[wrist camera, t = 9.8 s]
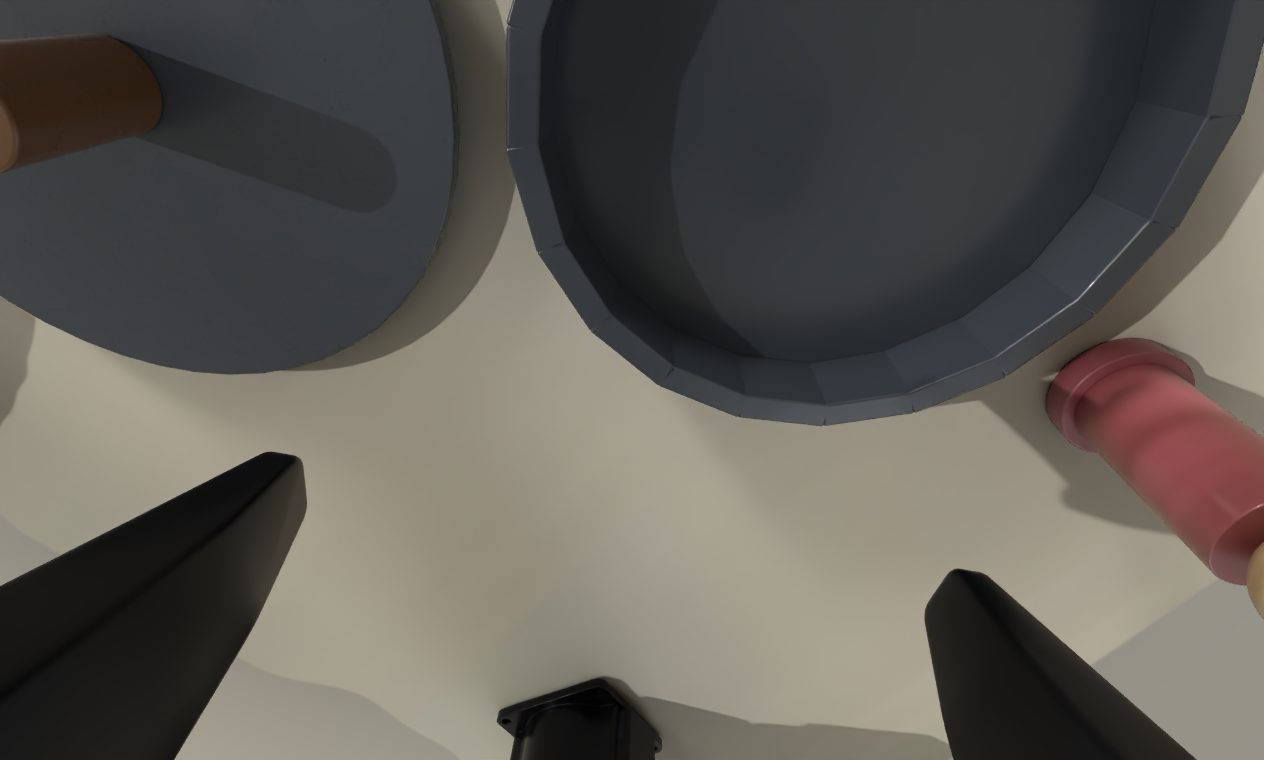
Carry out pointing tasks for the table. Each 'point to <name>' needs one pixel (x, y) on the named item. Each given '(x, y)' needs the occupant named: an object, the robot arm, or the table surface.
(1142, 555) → the table surface
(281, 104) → the lid
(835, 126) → the pan
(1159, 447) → the doll
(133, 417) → the table surface
